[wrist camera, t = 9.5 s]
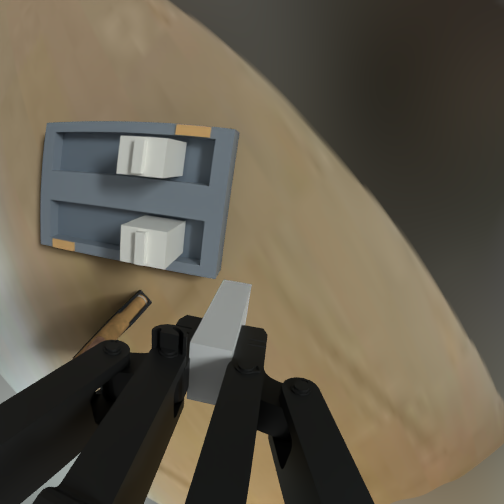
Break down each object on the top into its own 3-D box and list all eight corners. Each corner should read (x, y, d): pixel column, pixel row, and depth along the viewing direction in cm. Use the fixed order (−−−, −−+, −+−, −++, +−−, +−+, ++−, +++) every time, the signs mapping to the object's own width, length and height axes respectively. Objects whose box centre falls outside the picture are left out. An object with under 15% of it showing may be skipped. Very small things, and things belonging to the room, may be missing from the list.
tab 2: (143, 245, 29) (116, 263, 24) (145, 215, 29) (117, 226, 23) (182, 252, 29) (161, 272, 24) (185, 221, 28) (164, 233, 23)
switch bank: (55, 238, 32) (39, 244, 29) (61, 124, 28) (45, 122, 25) (220, 269, 31) (214, 279, 28) (239, 132, 27) (235, 129, 25)
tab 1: (141, 171, 28) (112, 173, 22) (145, 139, 27) (117, 135, 21) (182, 175, 27) (159, 178, 22) (186, 142, 27) (164, 137, 21)
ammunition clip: (140, 289, 32) (82, 345, 21) (152, 301, 33) (98, 363, 21) (92, 338, 35) (38, 393, 23) (102, 349, 35) (51, 407, 24)
